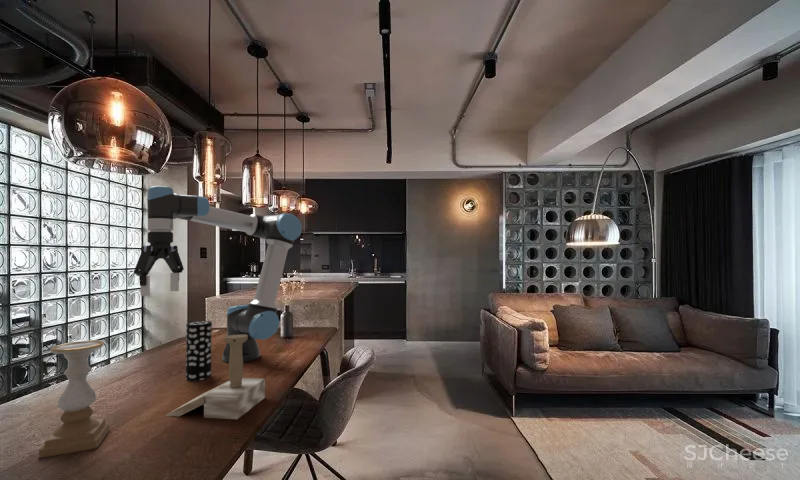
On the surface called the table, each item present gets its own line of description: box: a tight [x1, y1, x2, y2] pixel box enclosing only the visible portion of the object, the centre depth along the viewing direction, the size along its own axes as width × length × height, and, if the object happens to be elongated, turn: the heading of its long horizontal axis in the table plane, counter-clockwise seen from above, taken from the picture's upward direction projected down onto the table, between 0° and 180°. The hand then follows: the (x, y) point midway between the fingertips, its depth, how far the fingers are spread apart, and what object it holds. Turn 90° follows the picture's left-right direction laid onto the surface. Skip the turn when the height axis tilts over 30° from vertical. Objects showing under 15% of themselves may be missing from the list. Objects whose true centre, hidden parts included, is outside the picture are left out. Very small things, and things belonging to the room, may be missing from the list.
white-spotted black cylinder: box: [185, 320, 213, 382], centre depth 144 cm, size 8×8×20 cm
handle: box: [223, 335, 248, 388], centre depth 116 cm, size 5×6×15 cm
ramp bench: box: [164, 377, 266, 420], centre depth 117 cm, size 16×22×8 cm
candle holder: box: [38, 339, 110, 459], centre depth 95 cm, size 11×11×24 cm
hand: (160, 293), depth 133 cm, fingers open, 13 cm apart
